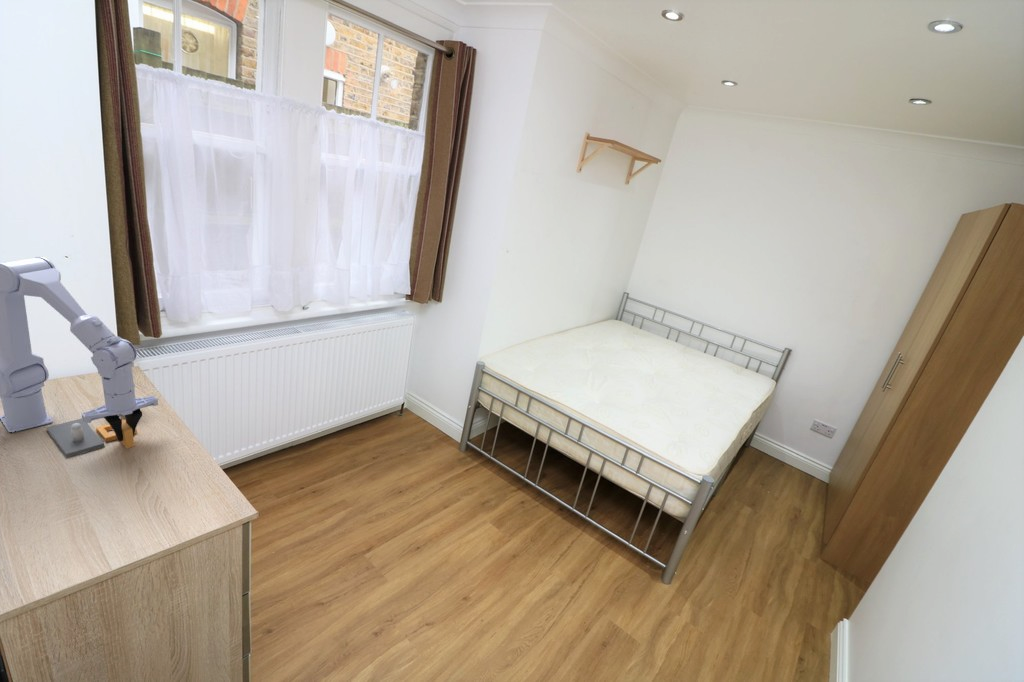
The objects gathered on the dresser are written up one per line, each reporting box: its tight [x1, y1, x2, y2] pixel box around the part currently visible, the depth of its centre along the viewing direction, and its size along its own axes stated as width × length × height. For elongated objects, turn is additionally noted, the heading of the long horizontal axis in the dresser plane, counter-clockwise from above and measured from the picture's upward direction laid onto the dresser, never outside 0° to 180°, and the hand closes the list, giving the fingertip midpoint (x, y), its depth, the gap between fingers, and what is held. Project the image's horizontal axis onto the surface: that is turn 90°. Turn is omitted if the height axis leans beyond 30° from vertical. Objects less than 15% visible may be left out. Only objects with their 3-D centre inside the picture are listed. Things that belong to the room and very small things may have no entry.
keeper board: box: [45, 418, 105, 458], centre depth 116 cm, size 15×7×6 cm, turn 55°
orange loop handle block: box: [95, 419, 138, 449], centre depth 119 cm, size 12×6×5 cm, turn 55°
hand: (125, 437), depth 118 cm, fingers closed on orange loop handle block
